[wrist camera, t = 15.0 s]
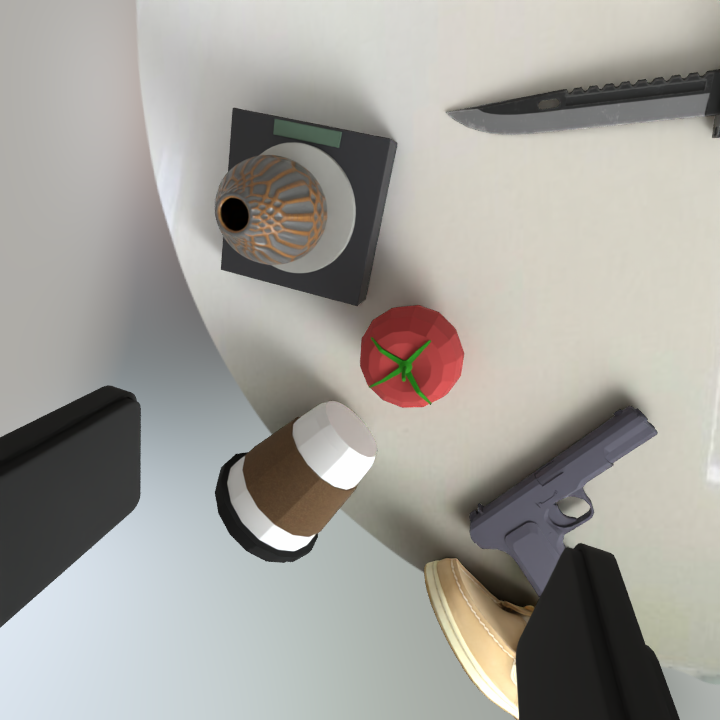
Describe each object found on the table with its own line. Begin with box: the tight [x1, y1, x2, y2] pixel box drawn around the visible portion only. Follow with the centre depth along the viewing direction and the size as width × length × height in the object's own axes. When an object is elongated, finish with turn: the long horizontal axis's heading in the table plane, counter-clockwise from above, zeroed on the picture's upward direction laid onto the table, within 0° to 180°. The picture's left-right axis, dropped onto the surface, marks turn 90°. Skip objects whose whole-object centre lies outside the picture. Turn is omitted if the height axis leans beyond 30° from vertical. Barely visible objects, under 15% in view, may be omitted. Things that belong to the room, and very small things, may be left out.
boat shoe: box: [424, 558, 535, 720], centre depth 40 cm, size 25×9×9 cm
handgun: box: [469, 406, 658, 598], centre depth 38 cm, size 18×2×12 cm
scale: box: [221, 108, 397, 306], centre depth 35 cm, size 12×12×3 cm
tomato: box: [360, 305, 464, 408], centre depth 34 cm, size 8×8×8 cm
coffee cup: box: [215, 401, 378, 563], centre depth 39 cm, size 11×11×12 cm
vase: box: [215, 155, 327, 265], centre depth 29 cm, size 7×7×9 cm
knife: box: [446, 69, 720, 138], centre depth 28 cm, size 25×2×5 cm
